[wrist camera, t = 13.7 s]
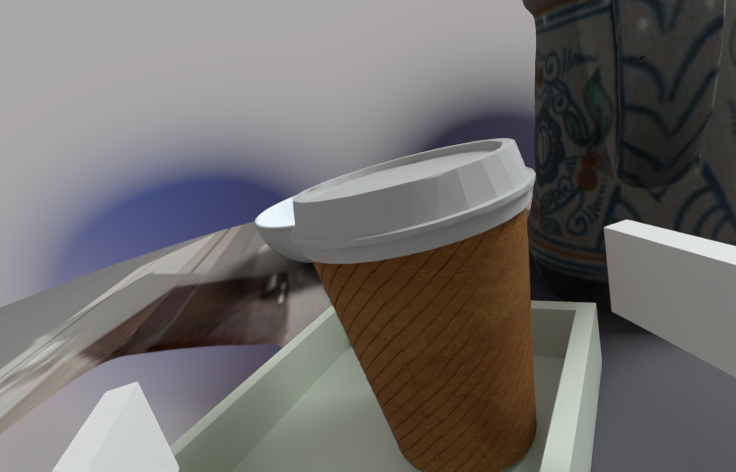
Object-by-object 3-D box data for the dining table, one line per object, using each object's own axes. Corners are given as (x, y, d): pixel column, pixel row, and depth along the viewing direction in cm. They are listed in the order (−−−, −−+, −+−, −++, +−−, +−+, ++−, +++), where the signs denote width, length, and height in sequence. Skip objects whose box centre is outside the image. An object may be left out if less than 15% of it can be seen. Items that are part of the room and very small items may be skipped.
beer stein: (681, 208, 37) (669, -116, 30) (1004, 302, 19) (1166, -480, 12) (500, 252, 38) (448, -53, 31) (637, 385, 19) (583, -301, 12)
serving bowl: (256, 260, 57) (240, 212, 55) (387, 211, 64) (376, 167, 62) (300, 306, 38) (277, 236, 36) (476, 230, 46) (464, 169, 44)
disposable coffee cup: (366, 551, 14) (253, 228, 12) (361, 388, 24) (297, 185, 21) (635, 483, 14) (587, 134, 11) (523, 345, 23) (481, 134, 21)
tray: (168, 537, 18) (136, 475, 17) (357, 336, 30) (344, 294, 29) (555, 784, 9) (535, 688, 8) (602, 362, 21) (595, 302, 20)
